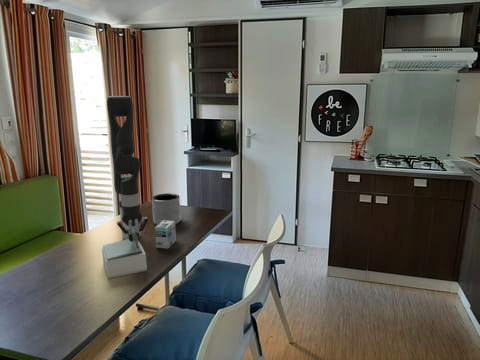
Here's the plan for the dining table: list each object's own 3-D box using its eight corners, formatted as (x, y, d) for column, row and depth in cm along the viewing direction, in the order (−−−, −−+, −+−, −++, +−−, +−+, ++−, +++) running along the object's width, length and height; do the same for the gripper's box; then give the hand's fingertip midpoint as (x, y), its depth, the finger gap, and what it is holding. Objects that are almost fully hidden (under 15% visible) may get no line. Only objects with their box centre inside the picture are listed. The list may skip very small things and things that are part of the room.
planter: (178, 226, 207) (176, 200, 203) (150, 227, 207) (148, 200, 203) (183, 217, 222) (181, 192, 218) (156, 217, 222) (155, 193, 219)
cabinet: (103, 263, 163) (101, 246, 161) (139, 256, 170) (138, 240, 168) (108, 279, 149) (106, 261, 148) (147, 270, 156) (145, 253, 154)
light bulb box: (168, 248, 178) (167, 228, 175) (155, 247, 179) (154, 227, 177) (176, 240, 188) (175, 220, 186) (164, 239, 189) (163, 219, 187)
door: (103, 246, 161) (100, 233, 160) (134, 238, 167) (132, 225, 165) (107, 260, 148) (104, 246, 146) (141, 250, 154) (139, 237, 152)
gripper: (145, 198, 161) (148, 235, 166) (112, 203, 155) (116, 240, 160) (149, 203, 155) (151, 241, 159) (115, 208, 149) (119, 247, 153)
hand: (134, 240), depth 159 cm, fingers closed on door, 2 cm apart
